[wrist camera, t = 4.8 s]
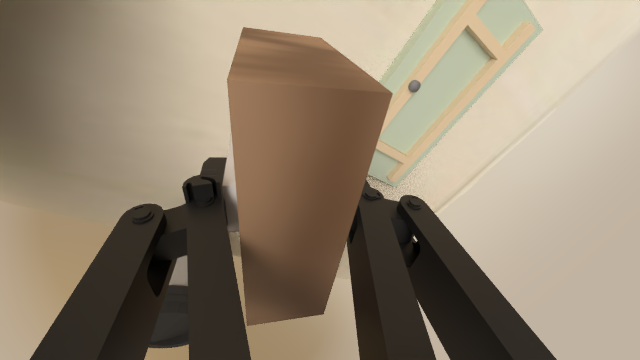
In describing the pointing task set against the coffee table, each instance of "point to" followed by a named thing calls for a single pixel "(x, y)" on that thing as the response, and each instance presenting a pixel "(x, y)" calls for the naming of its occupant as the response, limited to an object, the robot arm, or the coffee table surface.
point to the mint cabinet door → (446, 76)
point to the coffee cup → (173, 311)
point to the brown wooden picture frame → (297, 165)
